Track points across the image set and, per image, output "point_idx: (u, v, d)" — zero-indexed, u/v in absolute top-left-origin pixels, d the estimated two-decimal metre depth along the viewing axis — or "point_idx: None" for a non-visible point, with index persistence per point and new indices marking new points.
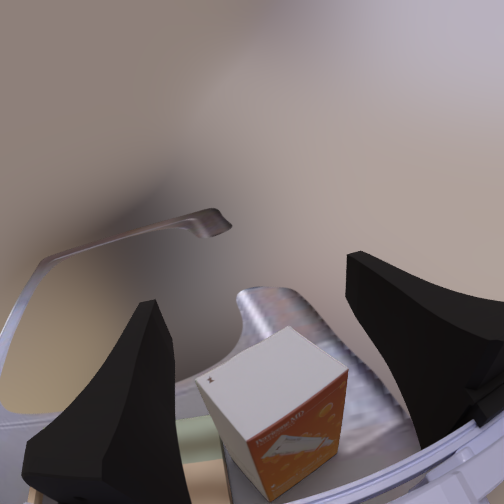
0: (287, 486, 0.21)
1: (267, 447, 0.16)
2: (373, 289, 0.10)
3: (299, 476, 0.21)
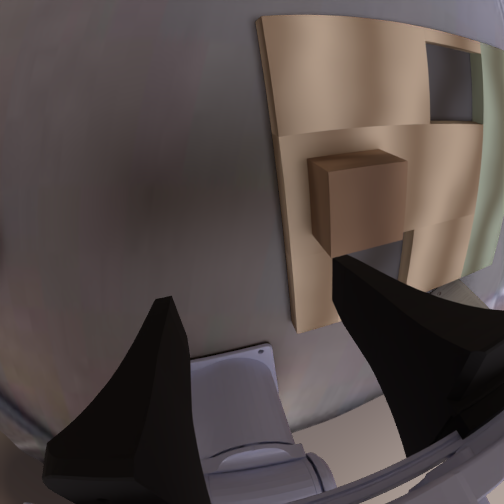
0: None
1: None
2: (357, 294, 0.10)
3: None
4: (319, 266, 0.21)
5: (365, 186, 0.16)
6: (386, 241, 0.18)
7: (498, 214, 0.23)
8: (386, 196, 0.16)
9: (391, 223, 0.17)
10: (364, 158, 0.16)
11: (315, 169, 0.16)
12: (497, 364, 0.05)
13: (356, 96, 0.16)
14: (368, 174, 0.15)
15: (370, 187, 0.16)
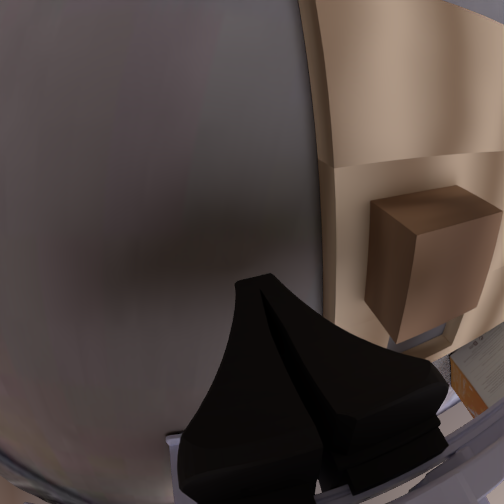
0: (456, 373, 0.22)
1: None
2: (270, 318, 0.09)
3: (458, 381, 0.23)
4: (366, 335, 0.15)
5: (456, 250, 0.10)
6: (460, 313, 0.12)
7: None
8: (474, 260, 0.10)
9: (471, 291, 0.11)
10: (450, 205, 0.10)
11: (387, 221, 0.10)
12: (396, 423, 0.05)
13: (437, 111, 0.10)
14: (462, 233, 0.09)
15: (460, 250, 0.10)
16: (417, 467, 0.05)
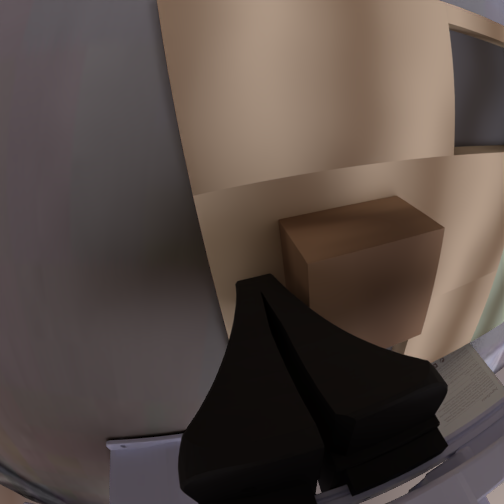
0: None
1: None
2: (269, 318, 0.09)
3: None
4: None
5: (373, 276, 0.09)
6: (397, 342, 0.11)
7: None
8: (405, 285, 0.10)
9: (408, 319, 0.11)
10: (374, 222, 0.10)
11: (289, 244, 0.10)
12: (395, 423, 0.05)
13: (333, 114, 0.09)
14: (379, 258, 0.09)
15: (381, 276, 0.09)
16: (416, 467, 0.05)
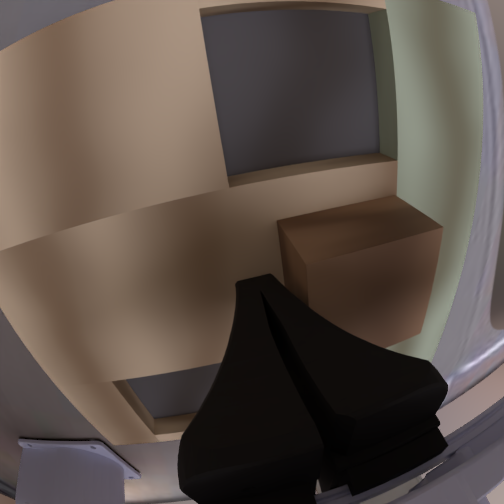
0: None
1: None
2: (270, 318, 0.09)
3: None
4: (95, 396, 0.14)
5: (372, 276, 0.09)
6: (397, 341, 0.11)
7: (441, 304, 0.16)
8: (404, 285, 0.10)
9: (407, 318, 0.11)
10: (372, 222, 0.10)
11: (288, 245, 0.10)
12: (395, 423, 0.05)
13: (44, 179, 0.08)
14: (378, 258, 0.09)
15: (380, 276, 0.09)
16: (417, 467, 0.05)
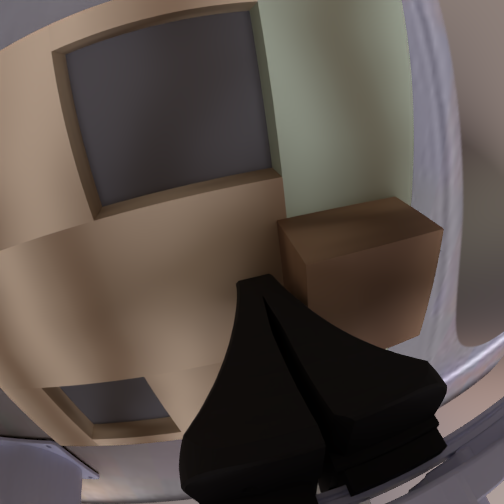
0: None
1: None
2: (269, 318, 0.09)
3: None
4: (32, 399, 0.13)
5: (372, 278, 0.09)
6: (396, 342, 0.11)
7: None
8: (403, 287, 0.10)
9: (406, 320, 0.11)
10: (373, 223, 0.10)
11: (287, 245, 0.10)
12: (394, 423, 0.05)
13: None
14: (378, 259, 0.09)
15: (379, 277, 0.09)
16: (415, 468, 0.05)
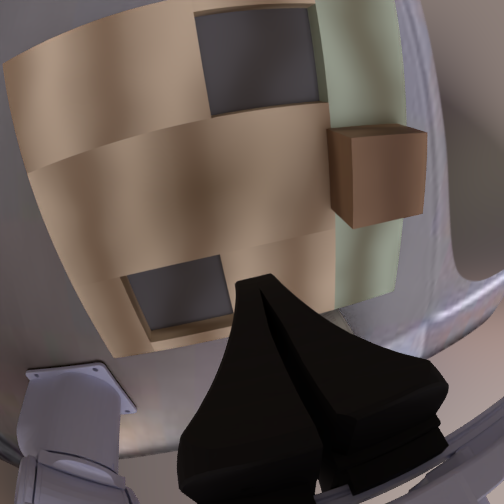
0: None
1: None
2: (270, 318, 0.09)
3: None
4: (104, 295, 0.19)
5: (387, 155, 0.15)
6: (407, 215, 0.17)
7: (390, 226, 0.21)
8: (407, 167, 0.15)
9: (412, 195, 0.16)
10: (384, 129, 0.15)
11: (336, 138, 0.16)
12: (396, 423, 0.05)
13: (92, 112, 0.13)
14: (390, 143, 0.14)
15: (392, 156, 0.15)
16: (417, 467, 0.05)
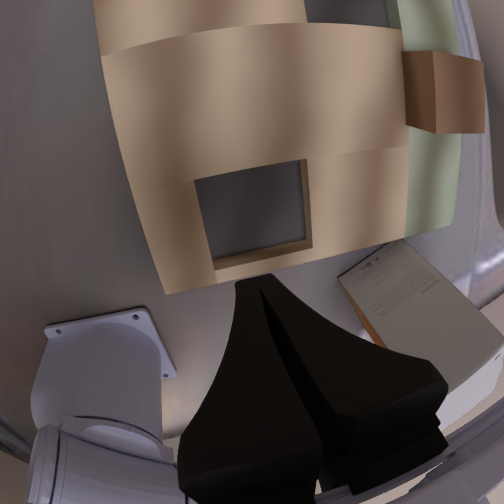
0: None
1: None
2: (270, 318, 0.09)
3: (358, 314, 0.24)
4: (170, 204, 0.17)
5: (457, 72, 0.13)
6: (474, 131, 0.15)
7: (451, 153, 0.19)
8: (471, 87, 0.14)
9: (476, 113, 0.14)
10: None
11: (413, 56, 0.14)
12: (396, 423, 0.05)
13: (190, 1, 0.12)
14: (458, 62, 0.13)
15: (461, 74, 0.13)
16: (417, 467, 0.05)
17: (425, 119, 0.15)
